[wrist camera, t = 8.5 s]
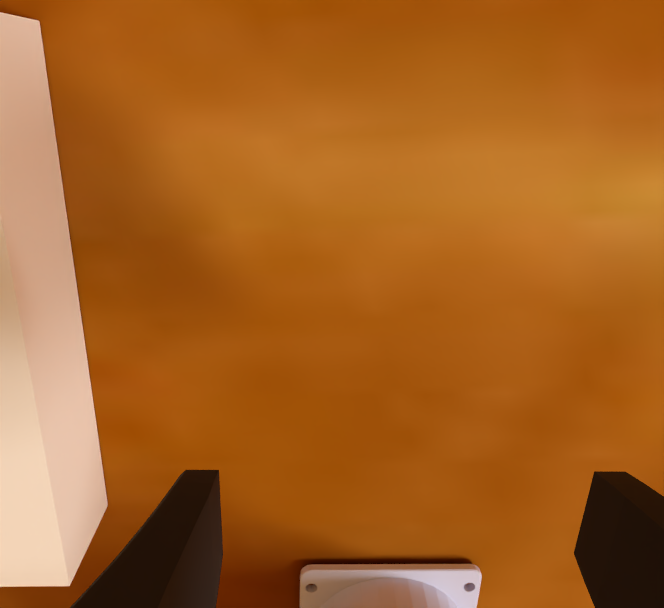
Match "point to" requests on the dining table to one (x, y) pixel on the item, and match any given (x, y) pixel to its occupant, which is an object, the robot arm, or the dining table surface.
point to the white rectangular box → (40, 340)
